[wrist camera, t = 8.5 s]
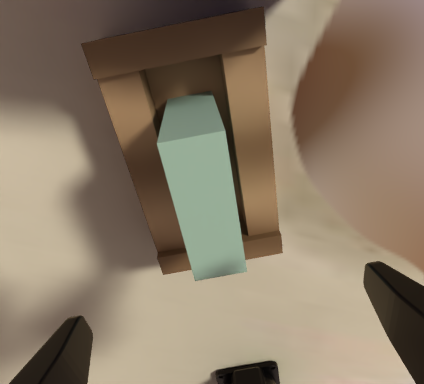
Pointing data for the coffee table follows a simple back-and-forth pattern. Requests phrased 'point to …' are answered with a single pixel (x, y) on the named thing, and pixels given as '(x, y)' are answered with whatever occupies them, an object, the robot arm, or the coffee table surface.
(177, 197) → the pale green block
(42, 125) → the coffee table surface
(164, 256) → the track
